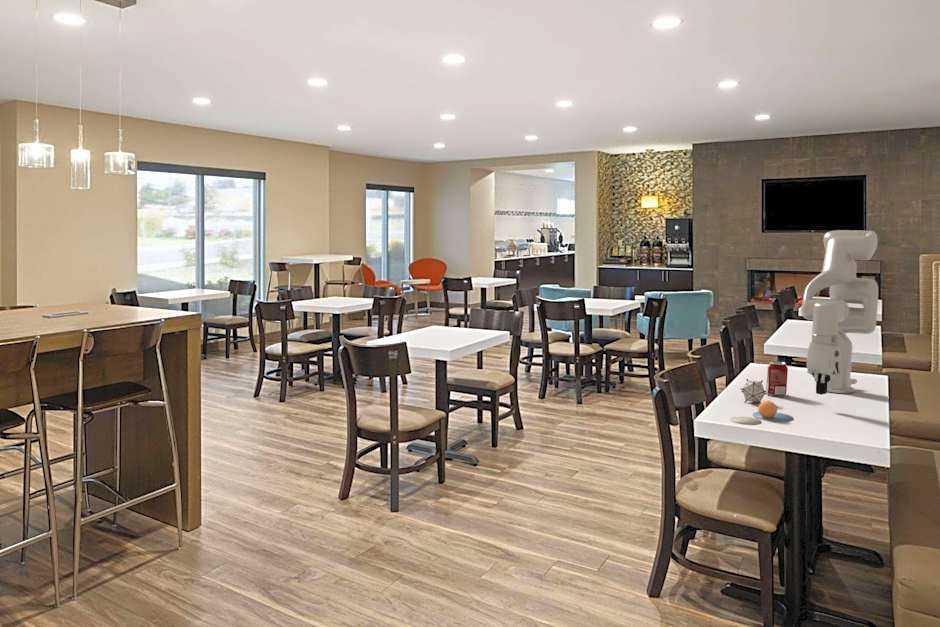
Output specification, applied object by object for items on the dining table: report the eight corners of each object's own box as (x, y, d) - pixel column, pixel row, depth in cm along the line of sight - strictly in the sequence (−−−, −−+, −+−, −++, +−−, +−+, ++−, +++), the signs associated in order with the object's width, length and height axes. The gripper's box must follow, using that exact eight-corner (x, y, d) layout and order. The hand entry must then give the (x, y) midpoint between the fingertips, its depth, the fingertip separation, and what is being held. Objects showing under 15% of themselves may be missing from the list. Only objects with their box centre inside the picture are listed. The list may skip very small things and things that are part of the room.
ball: (752, 404, 229) (756, 419, 231) (766, 408, 224) (771, 423, 226) (764, 396, 231) (768, 410, 233) (778, 399, 226) (782, 414, 228)
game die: (746, 412, 251) (732, 386, 255) (768, 403, 252) (754, 378, 256) (752, 405, 243) (738, 378, 247) (776, 396, 244) (761, 370, 248)
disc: (770, 410, 238) (770, 410, 238) (801, 419, 228) (801, 418, 228) (744, 414, 233) (744, 413, 233) (774, 423, 222) (774, 422, 222)
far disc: (744, 415, 231) (744, 415, 231) (767, 422, 223) (767, 422, 223) (723, 418, 227) (724, 418, 227) (746, 425, 219) (746, 425, 219)
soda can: (788, 397, 258) (790, 364, 257) (767, 396, 259) (769, 363, 258) (783, 393, 265) (785, 361, 263) (764, 392, 266) (766, 360, 265)
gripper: (852, 342, 233) (849, 397, 236) (812, 334, 246) (809, 387, 249) (837, 344, 229) (833, 400, 232) (797, 337, 243) (794, 390, 246)
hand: (821, 393), depth 241 cm, fingers closed
